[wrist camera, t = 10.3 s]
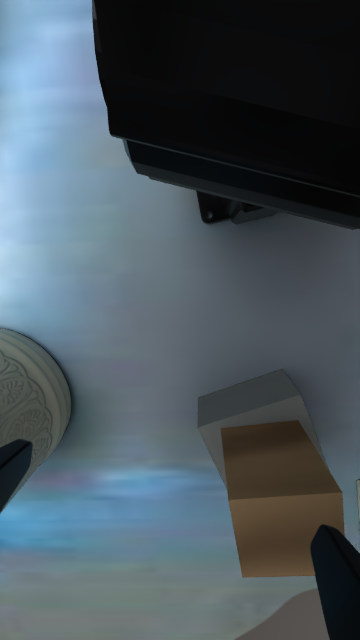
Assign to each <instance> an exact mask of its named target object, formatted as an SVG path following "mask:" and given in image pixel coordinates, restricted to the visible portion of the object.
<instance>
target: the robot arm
mask: <svg viewBox="0 0 360 640" xmlns="http://www.w3.org/2000/svg"><path fill="white" fill-rule="evenodd" d="M92 17H93V31H94V44H95V54H96V60H97V67H98V74H99V79H100V84H101V88H102V92H103V96H104V100H105V103H106V105H107V111H108V124H109V131H110V134H111V136H113V137H117V138H121V139H122V140H123V143H124V147H125V151H126V153H127V155H128V157H129V159H130V161H131V163H132V165H133V167H134V169H135V170H136V172H137V173H138V174H141V175H145V176H148V177H149V178H150V179H152V180H156V181H160V182H164V183H168V184H172V185H176V186H180V187H184V188H188V189H192V190H196V192H197V197H198V203H199V208H200V213H201V218H202V221H203V222H204V223H206V224H212V223H216V222H220V221H224V220H228V219H232V222H233V223H235V224H238V223H242V222H247V221H251V220H255V219H259V218H263V217H267V216H271V215H274V214H275V213H277V212H278V211H280V212H284V213H288V214H292V215H296V216H300V217H304V218H308V219H312V220H316V221H320V222H324V223H328V224H332V225H336V226H340V227H344V228H348V229H352V230H353V229H360V0H92ZM208 212H210V213H212V218H211V219H207V218H206V217H205V214H206V213H208ZM32 448H33V444H32V442H31V441H28V440H24V439H16V440H14V441H12V442H10V443H8V444H6V445H4V446H2V447H0V512H1V511H2V509H3V508H4V506H5V505H6V503H7V502H8V500H9V499H10V497H11V495H12V494H13V492H14V491H15V489H16V488H17V486H18V485H19V483H20V482H21V480H22V479H23V477H24V476H25V474H26V472H27V471H28V469H29V467H30V464H31V457H32ZM310 552H311V558H312V562H313V567H314V572H315V577H316V581H317V586H318V590H319V595H320V600H321V605H322V610H323V614H324V618H325V623H326V627H327V631H328V635H329V638H330V640H360V553H359V552H358V551H357V550H356V549H355V548H354V547H353V545H352V544H351V543H350V542H349V541H348V540H347V539H346V538H345V537H344V535H343V534H342V533H341V532H340V531H339V530H338V529H337V528H335V527H332V526H328V525H325V524H322V525H320V526H319V528H318V530H317V532H316V534H315V535H314V537H313V539H312V541H311V544H310Z"/></svg>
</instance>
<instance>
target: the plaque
mask: <svg viewBox="0 0 360 640" xmlns="http://www.w3.org/2000/svg"><path fill="white" fill-rule="evenodd" d="M357 494H358V507H359V520H360V480H357Z"/></svg>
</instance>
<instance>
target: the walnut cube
mask: <svg viewBox="0 0 360 640" xmlns="http://www.w3.org/2000/svg"><path fill="white" fill-rule="evenodd" d="M221 437H222V446H223V455H224V464H225V473H226V482H227V491H228V500H229V505H230V511H231V516H232V522H233V527H234V533H235V538H236V544H237V549H238V555H239V560H240V566H241V571H242V577H280V576H315V572H314V567H313V562H312V558H311V552H310V544H311V541H312V539H313V537H314V535H315V534H316V532H317V530H318V528H319V526H320V525H322V524H325V525H328V526H332V527H335V528H337V529H338V530H339V531H340V532H341V533H342V534H343V535H344V517H343V498H342V491H341V490H340V488H339V486H338V485H337V483H336V481H335V480H334V478H333V476H332V475H331V473H330V471H329V470H328V468H327V467H326V465H325V463H324V462H323V460H322V458H321V457H320V455H319V453H318V452H317V450H316V448H315V447H314V445H313V444H312V442H311V440H310V439H309V437H308V435H307V434H306V432H305V430H304V429H303V427H302V425H301V424H300V422H299V420H294V421H285V422H275V423H266V424H256V425H247V426H237V427H228V428H221Z"/></svg>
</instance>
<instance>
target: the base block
mask: <svg viewBox="0 0 360 640" xmlns="http://www.w3.org/2000/svg"><path fill="white" fill-rule="evenodd" d="M294 420H299V422H300V424H301V425H302V427H303V429H304V430H305V432H306V434H307V435H308V437H309V439H310V440H311V442H312V444H313V445H314V447H315V448H316V450H317V452H318V453H319V455H320V457H321V458H322V460H323V462H324V463H325V465H326V467H327V468H328V466H327V464H326V461H325V458H324V455H323V453H322V450H321V447H320V445H319V442H318V439H317V436H316V434H315V431H314V428H313V426H312V423H311V420H310V418H309V415H308V412H307V409H306V407H305V404H304V401H303V399H302V396H301V394H300V392H299V391H298V390H297V388H296V387H295V386H294V384H293V383H292V382H291V380H290V379H289V378H288V376H287V375H286V374H285V372H284V371H283V370H282V369H280V370H277V371H274V372H271V373H269V374H266V375H263V376H260V377H257V378H254V379H251V380H248V381H245V382H242V383H239V384H237V385H234V386H231V387H228V388H225V389H222V390H219V391H216V392H213V393H210V394H207V395H205V396H202V397H199V398H198V429H199V432H200V434H201V436H202V438H203V440H204V442H205V444H206V446H207V448H208V450H209V453H210V455H211V457H212V459H213V461H214V463H215V465H216V467H217V469H218V472H219V474H220V476H221V478H222V480H223V482H224V484H225V486H226V488H227V482H226V473H225V464H224V455H223V446H222V437H221V428H228V427H237V426H247V425H256V424H266V423H275V422H285V421H294ZM328 470H329V469H328Z"/></svg>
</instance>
